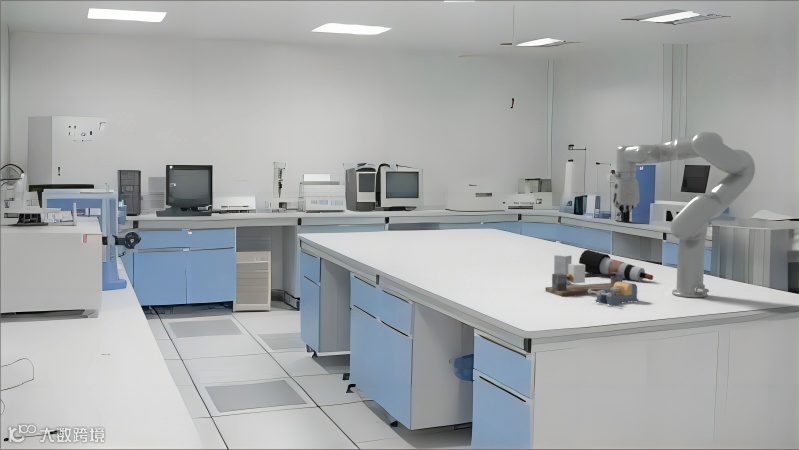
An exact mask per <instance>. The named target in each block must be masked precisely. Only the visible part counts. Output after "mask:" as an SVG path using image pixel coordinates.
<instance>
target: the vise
mask: <svg viewBox="0 0 799 450" xmlns="http://www.w3.org/2000/svg"><path fill="white" fill-rule="evenodd" d="M588 293H596V294H595V295H596V299H595V301H596V302H595V303H597V302H599V303H598V304H602V303H601V302H603V303H606V305H607V304H609V306H619V305H620V304H623V303H622V302H626V303H629V302H628V301H638V302H639V299H638V285H637V284H636V283H633V282H626V281H623V282H621V281H619V282H615V284H614V286H613V288H612V289H609V288H604V289H602V290H600V291H597V292H596V291H592V290H591V289H589V290H588ZM619 303H620V304H619ZM618 304H619V305H618Z"/></svg>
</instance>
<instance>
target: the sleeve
mask: <svg viewBox="0 0 799 450" xmlns="http://www.w3.org/2000/svg"><path fill="white" fill-rule="evenodd" d="M568 274H571V275H572V280H571V281H568V282H571V284H582V283H583V284H584V283H586V278H585V275H586V272H585V265H584V264H580V263H579V262H577V263H571V264H569V265H568Z"/></svg>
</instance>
